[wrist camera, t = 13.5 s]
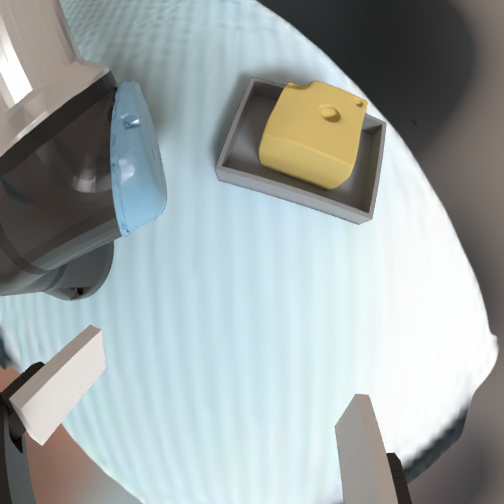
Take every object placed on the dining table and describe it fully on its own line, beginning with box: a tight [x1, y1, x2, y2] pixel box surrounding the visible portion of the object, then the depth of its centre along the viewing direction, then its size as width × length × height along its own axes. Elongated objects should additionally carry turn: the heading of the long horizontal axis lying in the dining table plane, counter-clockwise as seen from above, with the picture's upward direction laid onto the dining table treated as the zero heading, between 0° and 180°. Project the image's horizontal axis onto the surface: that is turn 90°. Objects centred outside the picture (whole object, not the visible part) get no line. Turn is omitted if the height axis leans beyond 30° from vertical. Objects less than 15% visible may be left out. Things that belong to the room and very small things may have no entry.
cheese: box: [259, 81, 368, 191], centre depth 31 cm, size 10×11×10 cm
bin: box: [215, 77, 386, 225], centre depth 34 cm, size 20×15×4 cm
